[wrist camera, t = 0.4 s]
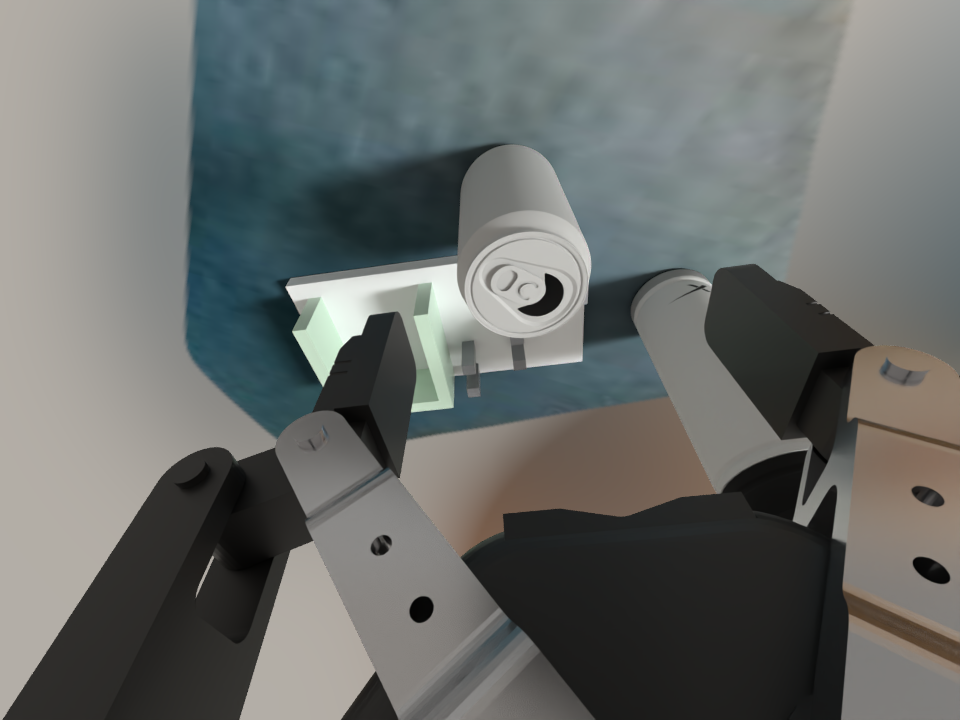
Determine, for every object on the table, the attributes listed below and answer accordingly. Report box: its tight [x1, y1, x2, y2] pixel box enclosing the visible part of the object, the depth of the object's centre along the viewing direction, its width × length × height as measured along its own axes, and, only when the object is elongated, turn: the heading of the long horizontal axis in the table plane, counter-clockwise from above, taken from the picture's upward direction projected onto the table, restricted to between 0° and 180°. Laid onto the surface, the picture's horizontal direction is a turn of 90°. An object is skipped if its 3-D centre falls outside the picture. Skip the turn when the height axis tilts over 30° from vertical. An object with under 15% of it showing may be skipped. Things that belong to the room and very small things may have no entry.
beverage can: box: [457, 144, 591, 338], centre depth 23 cm, size 6×6×12 cm
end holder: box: [292, 282, 455, 412], centre depth 33 cm, size 10×10×4 cm
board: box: [285, 255, 588, 397], centre depth 33 cm, size 11×22×4 cm, turn 98°
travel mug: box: [631, 269, 811, 521], centre depth 27 cm, size 6×7×20 cm
